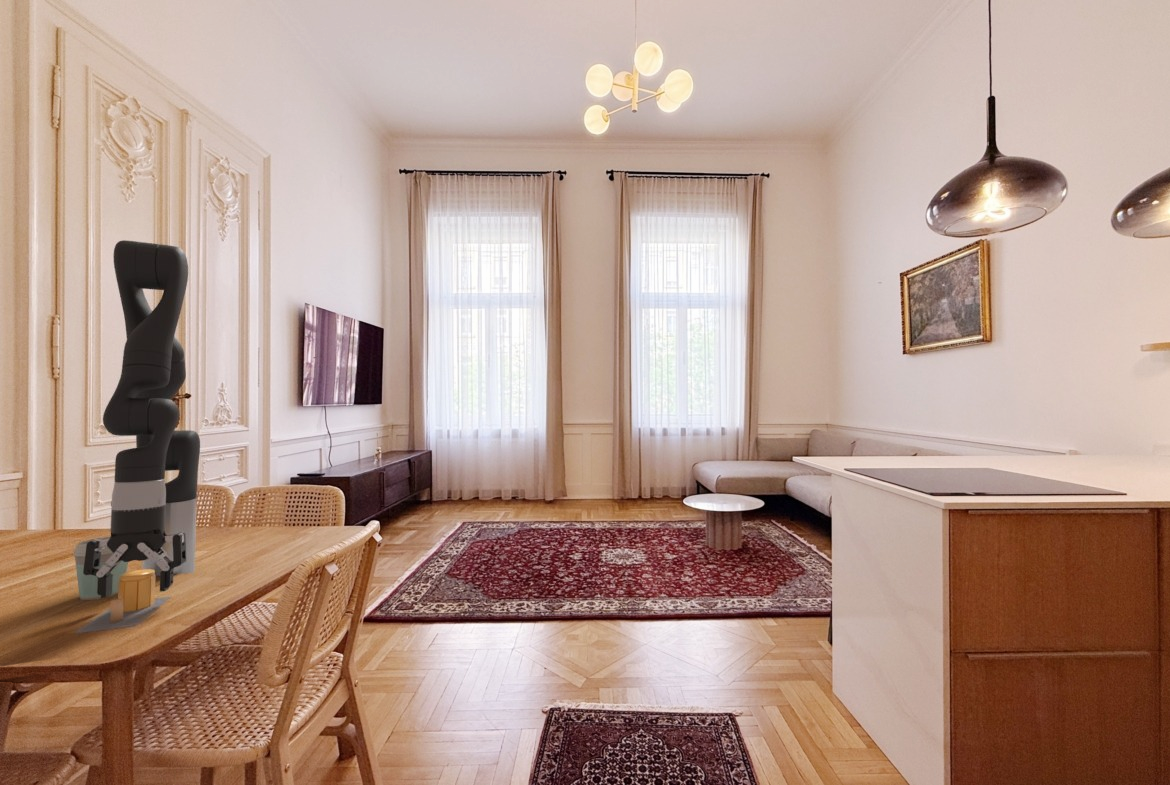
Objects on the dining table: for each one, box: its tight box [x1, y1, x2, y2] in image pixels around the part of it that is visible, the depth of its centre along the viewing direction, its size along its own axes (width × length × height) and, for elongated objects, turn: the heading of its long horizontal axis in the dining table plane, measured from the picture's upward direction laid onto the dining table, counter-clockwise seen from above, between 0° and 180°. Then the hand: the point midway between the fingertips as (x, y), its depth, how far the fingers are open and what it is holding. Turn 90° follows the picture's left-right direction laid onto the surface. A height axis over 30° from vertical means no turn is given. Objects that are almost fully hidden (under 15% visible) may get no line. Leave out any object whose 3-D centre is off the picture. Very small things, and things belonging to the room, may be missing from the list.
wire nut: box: [117, 569, 157, 612], centre depth 92 cm, size 5×5×6 cm
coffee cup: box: [72, 536, 129, 601], centre depth 98 cm, size 9×8×12 cm
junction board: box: [74, 596, 171, 634], centre depth 88 cm, size 14×8×5 cm, turn 21°
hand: (135, 593), depth 91 cm, fingers open, 8 cm apart
